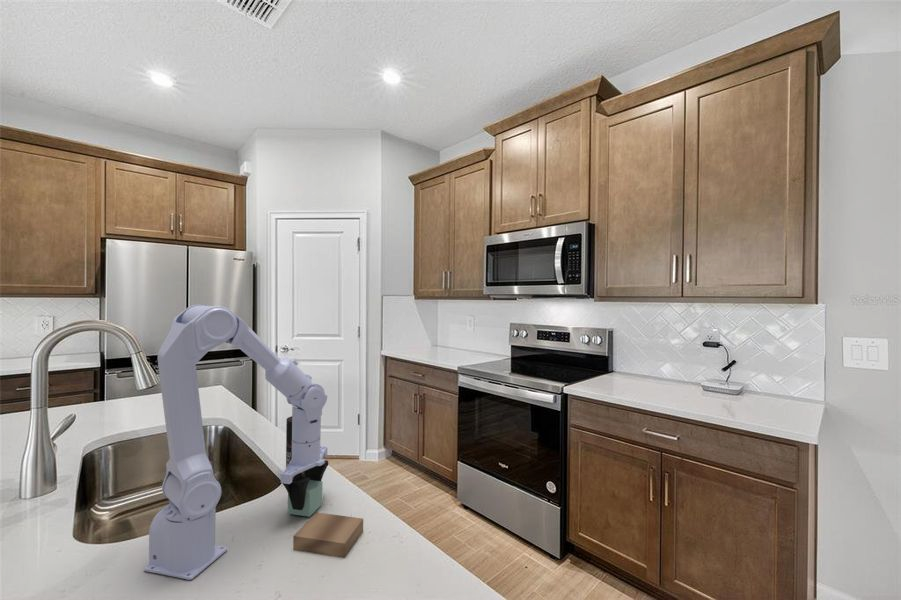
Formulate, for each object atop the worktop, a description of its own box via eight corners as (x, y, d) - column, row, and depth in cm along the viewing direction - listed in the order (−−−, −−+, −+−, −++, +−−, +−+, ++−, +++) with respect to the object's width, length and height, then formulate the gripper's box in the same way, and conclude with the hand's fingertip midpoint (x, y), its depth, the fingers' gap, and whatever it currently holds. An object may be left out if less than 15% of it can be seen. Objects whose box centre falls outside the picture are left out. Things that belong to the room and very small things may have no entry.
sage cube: (287, 513, 84) (288, 489, 84) (301, 501, 89) (301, 478, 89) (309, 516, 83) (309, 492, 83) (322, 504, 88) (322, 481, 87)
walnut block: (293, 552, 73) (293, 535, 73) (316, 527, 81) (316, 512, 81) (344, 560, 71) (344, 543, 71) (363, 533, 79) (363, 518, 79)
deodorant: (315, 474, 103) (316, 416, 102) (301, 485, 97) (302, 423, 96) (295, 471, 104) (296, 413, 104) (280, 481, 98) (281, 420, 98)
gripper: (304, 453, 77) (302, 523, 78) (340, 429, 92) (339, 488, 92) (271, 450, 79) (270, 518, 79) (311, 426, 93) (311, 484, 93)
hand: (305, 502), depth 86 cm, fingers closed on sage cube, 5 cm apart
